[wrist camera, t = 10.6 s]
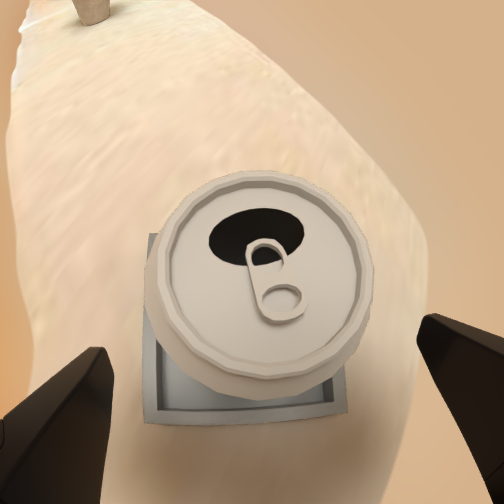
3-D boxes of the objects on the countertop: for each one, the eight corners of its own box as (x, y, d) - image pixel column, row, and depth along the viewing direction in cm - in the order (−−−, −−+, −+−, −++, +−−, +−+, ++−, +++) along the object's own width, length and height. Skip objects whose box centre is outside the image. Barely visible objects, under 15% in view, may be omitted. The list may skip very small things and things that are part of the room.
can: (280, 264, 21) (339, 140, 10) (314, 371, 18) (429, 347, 7) (171, 289, 20) (119, 173, 9) (197, 402, 17) (160, 435, 6)
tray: (332, 409, 18) (347, 412, 16) (153, 418, 17) (143, 422, 14) (316, 248, 23) (326, 233, 20) (155, 249, 21) (149, 233, 19)
